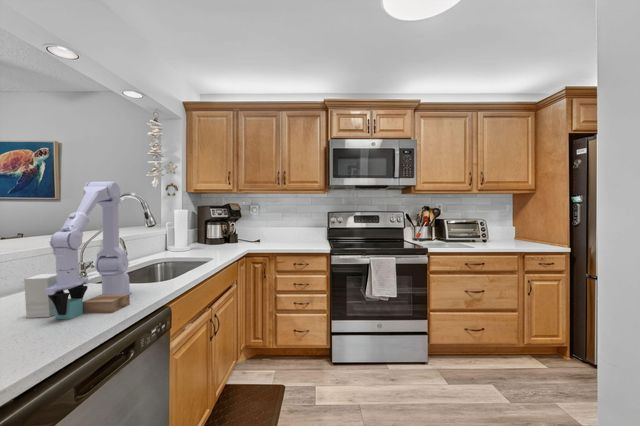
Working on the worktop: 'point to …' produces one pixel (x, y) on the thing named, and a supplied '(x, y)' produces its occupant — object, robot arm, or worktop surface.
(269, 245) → the worktop surface
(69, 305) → the teal cube
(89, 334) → the worktop surface
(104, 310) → the walnut block
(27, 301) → the supplement box
